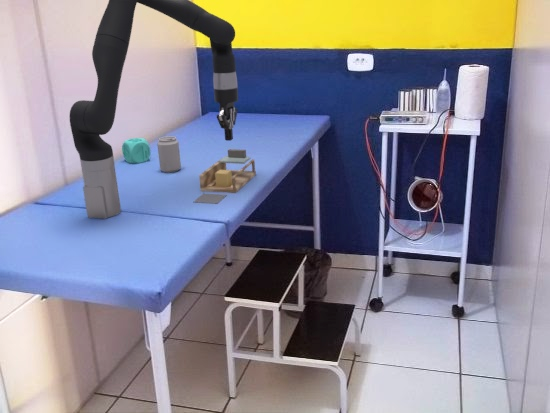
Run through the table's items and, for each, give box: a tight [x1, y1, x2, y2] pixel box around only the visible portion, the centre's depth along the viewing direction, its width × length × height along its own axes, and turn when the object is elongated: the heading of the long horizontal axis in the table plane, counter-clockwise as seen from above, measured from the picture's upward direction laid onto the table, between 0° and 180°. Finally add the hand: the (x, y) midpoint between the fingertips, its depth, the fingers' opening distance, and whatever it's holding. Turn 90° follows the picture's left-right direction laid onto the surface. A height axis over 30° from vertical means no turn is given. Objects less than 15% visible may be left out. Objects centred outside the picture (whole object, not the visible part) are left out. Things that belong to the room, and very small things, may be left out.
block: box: [215, 169, 232, 187], centre depth 195 cm, size 4×4×5 cm
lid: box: [218, 148, 252, 165], centre depth 204 cm, size 6×9×3 cm
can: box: [156, 135, 182, 174], centre depth 216 cm, size 8×8×12 cm
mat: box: [192, 193, 228, 205], centre depth 185 cm, size 8×8×1 cm
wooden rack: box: [198, 157, 257, 194], centre depth 199 cm, size 20×12×6 cm, turn 163°
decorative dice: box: [121, 137, 152, 164], centre depth 231 cm, size 8×8×8 cm
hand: (229, 139), depth 197 cm, fingers closed
